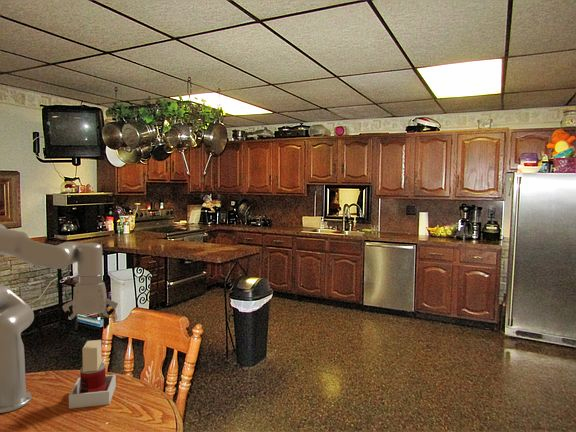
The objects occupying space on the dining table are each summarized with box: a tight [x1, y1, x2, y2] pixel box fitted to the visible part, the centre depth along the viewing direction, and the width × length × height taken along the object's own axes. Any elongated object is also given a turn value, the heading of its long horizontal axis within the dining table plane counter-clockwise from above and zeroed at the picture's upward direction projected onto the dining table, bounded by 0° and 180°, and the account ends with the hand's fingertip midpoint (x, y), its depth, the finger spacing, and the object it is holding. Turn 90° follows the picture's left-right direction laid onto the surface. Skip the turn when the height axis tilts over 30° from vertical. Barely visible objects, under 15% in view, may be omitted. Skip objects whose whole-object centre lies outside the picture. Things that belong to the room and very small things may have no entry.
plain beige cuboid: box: [81, 339, 103, 372], centre depth 139 cm, size 4×7×8 cm, turn 14°
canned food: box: [79, 361, 107, 393], centre depth 140 cm, size 8×8×11 cm
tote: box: [68, 374, 117, 409], centre depth 140 cm, size 12×12×4 cm
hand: (90, 328), depth 139 cm, fingers open, 9 cm apart
